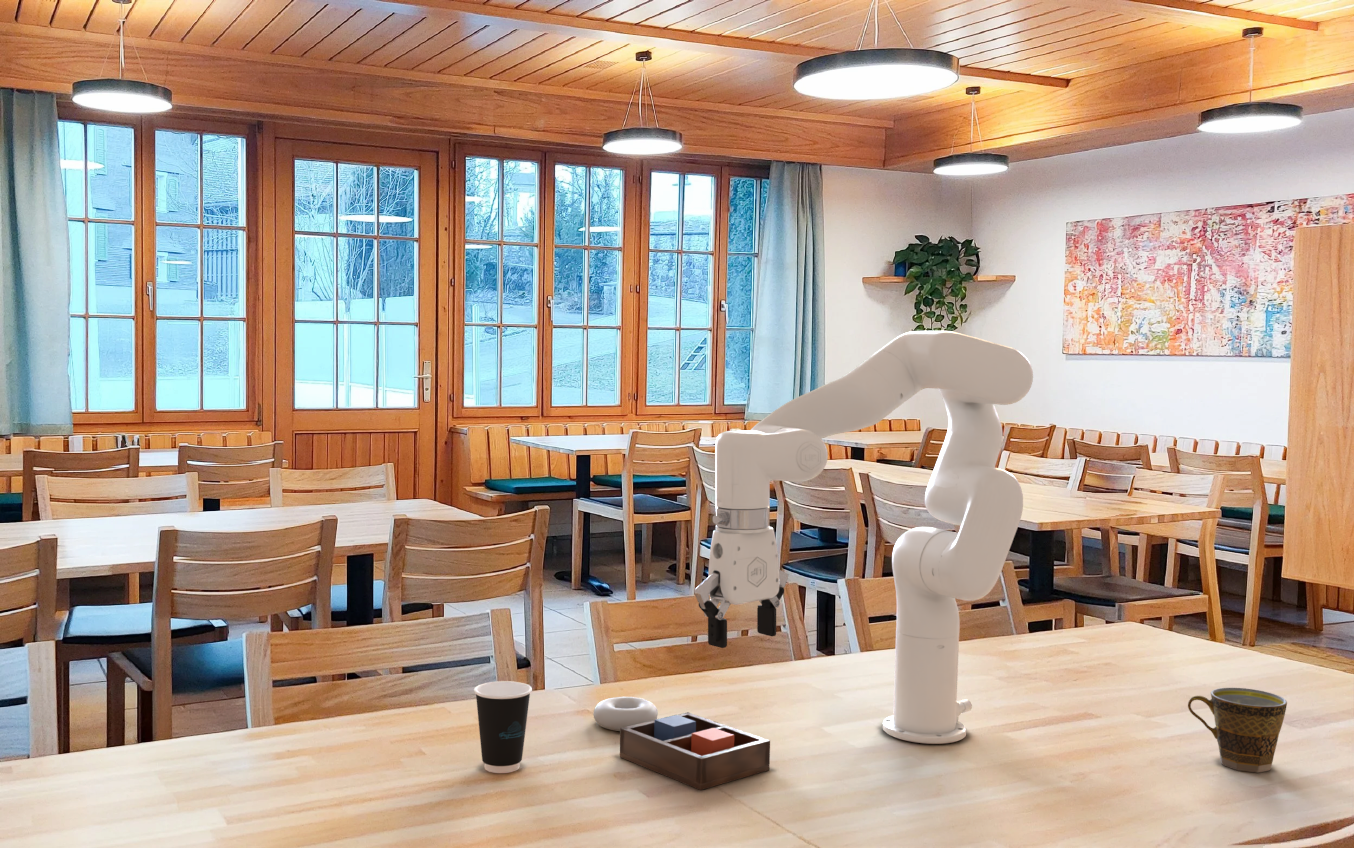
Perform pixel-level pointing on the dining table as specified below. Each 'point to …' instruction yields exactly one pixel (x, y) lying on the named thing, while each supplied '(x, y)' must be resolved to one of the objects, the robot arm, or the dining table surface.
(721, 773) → the sorting tray
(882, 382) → the robot arm
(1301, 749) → the dining table surface
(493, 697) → the dixie cup
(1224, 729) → the ceramic cup
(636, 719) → the donut
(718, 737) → the terracotta block
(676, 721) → the slate block
